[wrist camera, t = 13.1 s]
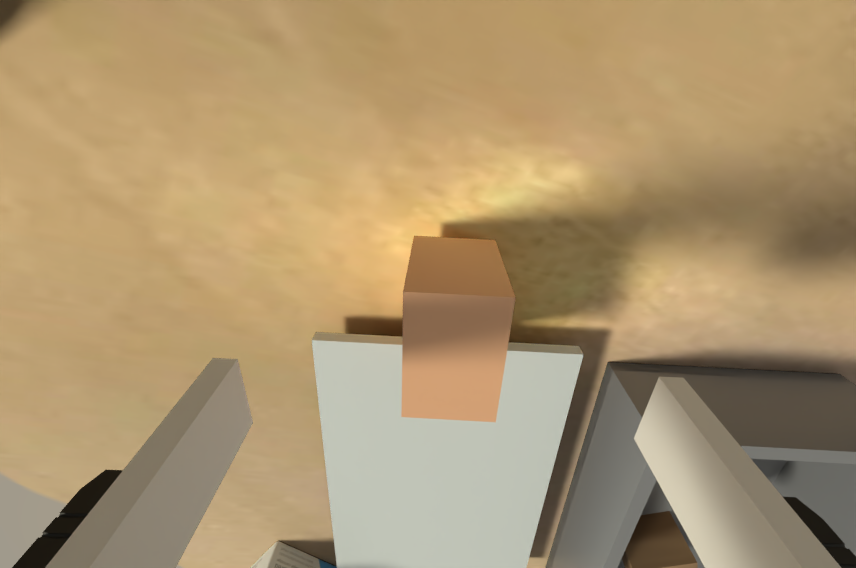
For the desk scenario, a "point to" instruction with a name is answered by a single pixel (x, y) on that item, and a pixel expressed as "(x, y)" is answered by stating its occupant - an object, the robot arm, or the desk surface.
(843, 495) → the tub
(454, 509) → the lid
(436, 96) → the desk surface
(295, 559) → the ink box
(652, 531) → the walnut part
